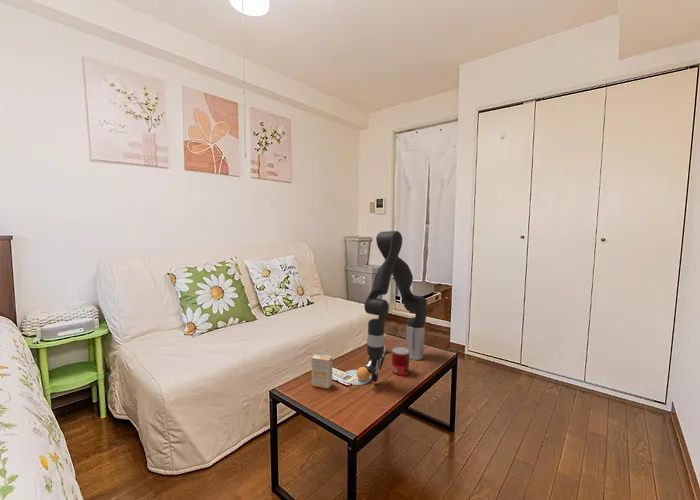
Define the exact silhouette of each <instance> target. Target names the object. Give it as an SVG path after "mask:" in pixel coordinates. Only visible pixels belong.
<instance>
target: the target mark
mask: <svg viewBox="0 0 700 500" xmlns="http://www.w3.org/2000/svg"><path fill="white" fill-rule="evenodd" d="M357 371H358V369H349V370H346V371H345V372H346V373H349V374H351V375H353V376H355V378H356V380H355V382H353V383H352V385H354V386H362V385H366V384H368V383H369V382H371V381H372V374H370V376H369V378H368V379H367V380H366V381H361V380H359V379H358V377H357Z"/></svg>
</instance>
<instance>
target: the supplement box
mask: <svg viewBox="0 0 700 500" xmlns="http://www.w3.org/2000/svg"><path fill="white" fill-rule="evenodd" d="M332 386H333V356H332V355H326V354H319V353H315V354H314V355H313V356H312V357H311V387H316V388H322V389H326V390H329V389H330V387H332Z"/></svg>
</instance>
